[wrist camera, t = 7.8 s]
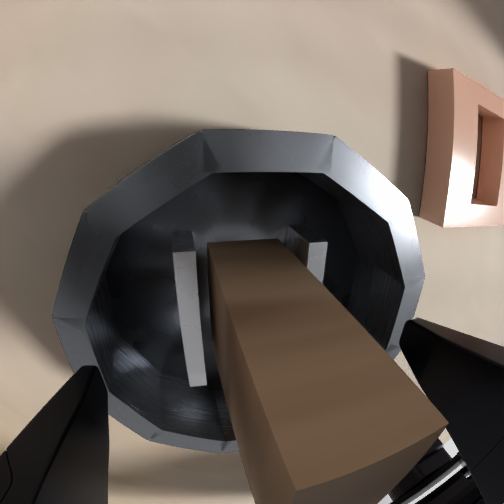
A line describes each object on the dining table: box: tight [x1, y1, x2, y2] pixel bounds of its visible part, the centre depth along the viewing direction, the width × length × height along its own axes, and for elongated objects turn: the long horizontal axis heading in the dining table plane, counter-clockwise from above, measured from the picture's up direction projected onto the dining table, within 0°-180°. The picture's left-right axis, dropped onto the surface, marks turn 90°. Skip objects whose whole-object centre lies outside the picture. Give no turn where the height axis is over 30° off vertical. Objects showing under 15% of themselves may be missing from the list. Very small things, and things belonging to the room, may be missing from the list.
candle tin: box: [52, 129, 425, 453], centre depth 10 cm, size 11×11×4 cm
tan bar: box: [207, 238, 449, 504], centre depth 7 cm, size 4×2×8 cm, turn 178°
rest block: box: [419, 68, 504, 227], centre depth 11 cm, size 7×7×2 cm
